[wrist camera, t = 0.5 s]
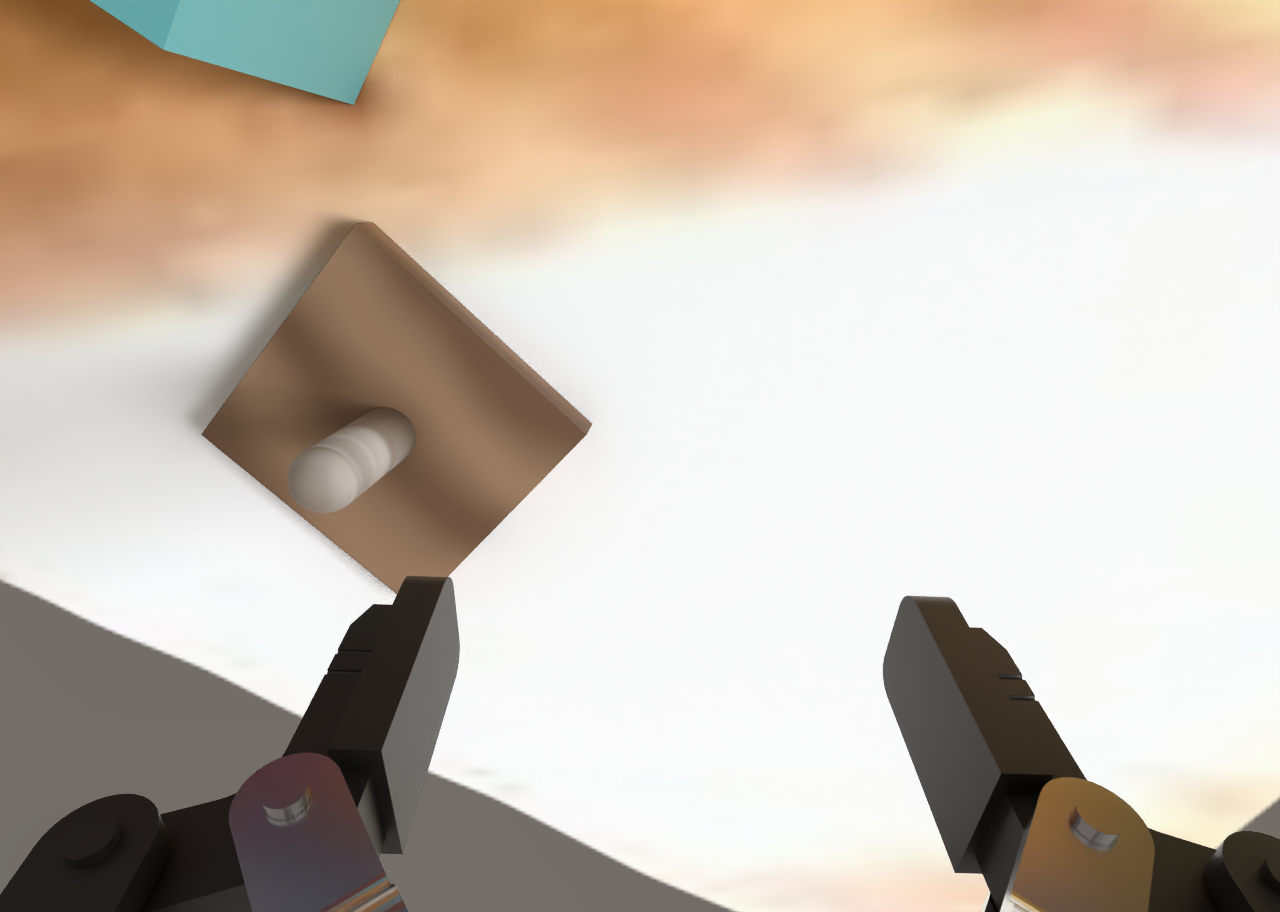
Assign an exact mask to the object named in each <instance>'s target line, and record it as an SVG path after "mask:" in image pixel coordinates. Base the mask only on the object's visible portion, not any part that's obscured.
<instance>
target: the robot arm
mask: <svg viewBox="0 0 1280 912" xmlns="http://www.w3.org/2000/svg"><path fill="white" fill-rule="evenodd" d="M459 651H460V642H459V632H458V623H457V614H456V605H455V596H454V587H453V582H452V579H451V578H450V577H429V576H407V577H406V578H405V579H404V581H403V583H402V585H401V587H400V589H399V592H398V594H397V596H396V598H395V600H394V603H393V605H381V604H373V605H372V606H371V607H370V608H369V609H368V610H366V611H365V612H364V613H363V614H362V615H361V616H360V617H359V618H358V619H356V620H355V621H354V622H353V623H352V624H351V625H350V627H349V629H348V631H347V633H346V635H345V637H344V638H343V640H342V642H341V644H340V646H339V648H338V654H335V656H334V658H333V660H332V662H331V664H330V666H329V668H328V673H327V675H324V677H323V679H322V681H321V683H320V685H319V687H318V689H317V691H316V693H315V695H314V697H313V699H312V701H311V703H310V705H309V707H308V709H307V711H306V712H305V714H304V716H303V718H302V720H301V722H300V724H299V726H298V728H297V730H296V732H295V734H294V736H293V738H292V740H291V742H290V744H289V746H288V748H287V750H286V751H285V753H284V754H283V756H282V757H281V758H279V759H276V760H274V761H272V762H270V763H269V764H267V765H265V766H263V767H262V768H261V769H259V770H258V771H256V772H255V773H254V774H253V775H252V776H250V777H249V778H248V779H247V780H246V781H245V783H244V784H243V785H242V786H241V787H240V789H239V790H238V792H237V793H236V794H233V795H231V796H228V797H226V798H222V799H219V800H216V801H212V802H208V803H204V804H200V805H196V806H193V807H188V808H184V809H180V810H176V811H172V812H168V813H164V814H159V812H158V810H157V808H156V807H155V805H154V804H153V803H152V802H151V801H150V800H149V799H147V798H145V797H143V796H139V795H136V794H119V795H113V796H108V797H104V798H101V799H98V800H95V801H93V802H90V803H88V804H86V805H84V806H82V807H80V808H78V809H77V810H75V811H73V812H71V813H70V814H68V815H67V816H66V817H64V818H63V819H61V820H60V821H59V822H57V823H56V824H55V825H54V826H53V827H52V828H50V830H48V832H46V833H45V834H44V835H43V836H42V837H41V839H40V840H39V841H38V843H37V844H36V845H35V846H34V848H33V849H32V851H31V852H30V853H29V855H28V856H27V858H26V859H25V861H24V862H23V863H22V865H21V866H20V867H19V869H18V871H17V872H16V874H15V875H14V876H13V877H12V879H11V880H10V882H9V883H8V885H7V886H6V887H5V889H4V890H3V892H2V893H1V895H0V912H408V910H407V908H406V906H405V904H404V901H403V899H402V897H401V895H400V893H399V891H398V889H397V888H396V886H395V885H394V884H392V885H391V884H390V882H389V880H388V878H387V876H386V874H385V871H384V869H383V867H382V864H381V862H380V860H379V856H380V853H386V854H388V853H389V854H403V851H404V848H405V844H406V841H407V838H408V834H409V831H410V827H411V824H412V821H413V818H414V815H415V811H416V808H417V805H418V801H419V798H420V794H421V791H422V788H423V784H424V781H425V778H426V775H427V771H428V768H429V765H430V761H431V758H432V755H433V751H434V748H435V745H436V741H437V738H438V735H439V731H440V728H441V725H442V721H443V718H444V715H445V711H446V708H447V705H448V701H449V698H450V695H451V691H452V688H453V685H454V681H455V678H456V674H457V669H458V663H459ZM883 679H884V686H885V690H886V694H887V696H888V699H889V702H890V704H891V707H892V709H893V712H894V715H895V717H896V720H897V723H898V725H899V728H900V730H901V733H902V736H903V738H904V741H905V743H906V746H907V749H908V751H909V754H910V756H911V759H912V762H913V764H914V767H915V769H916V772H917V775H918V777H919V780H920V782H921V785H922V788H923V790H924V793H925V796H926V798H927V801H928V803H929V806H930V809H931V811H932V814H933V816H934V819H935V822H936V824H937V827H938V829H939V832H940V835H941V837H942V840H943V842H944V845H945V848H946V850H947V853H948V856H949V858H950V861H951V863H952V866H953V869H954V871H955V873H979V874H983V876H984V878H985V881H986V883H987V886H988V888H989V890H990V891H989V893H988V895H987V897H986V899H985V901H984V904H983V907H982V910H981V912H1280V839H1277V838H1275V837H1272V836H1269V835H1266V834H1263V833H1258V832H1252V831H1241V832H1236V833H1233V834H1231V835H1229V836H1228V837H1227V838H1226V839H1225V840H1224V842H1223V843H1222V844H1221V846H1220V847H1219V848H1218V850H1215V849H1212V848H1208V847H1205V846H1202V845H1199V844H1196V843H1192V842H1189V841H1186V840H1183V839H1180V838H1176V837H1173V836H1170V835H1167V834H1163V833H1160V832H1157V831H1155V830H1152V829H1149V828H1147V826H1146V824H1145V823H1144V821H1143V820H1142V819H1141V817H1140V816H1139V815H1138V814H1137V813H1136V812H1135V811H1134V809H1133V808H1132V807H1131V806H1130V805H1128V804H1127V803H1126V802H1125V801H1124V800H1122V799H1121V798H1120V797H1118V796H1117V795H1115V794H1114V793H1113V792H1111V791H1109V790H1107V789H1106V788H1104V787H1102V786H1100V785H1098V784H1095V783H1093V782H1090V781H1087V780H1086V778H1085V777H1084V775H1083V773H1082V772H1081V770H1080V768H1079V767H1078V765H1077V764H1076V762H1075V760H1074V759H1073V757H1072V755H1071V754H1070V752H1069V751H1068V749H1067V747H1066V746H1065V744H1064V742H1063V741H1062V739H1061V738H1060V736H1059V734H1058V733H1057V731H1056V729H1055V728H1054V726H1053V725H1052V723H1051V721H1050V720H1049V718H1048V716H1047V715H1046V713H1045V711H1044V710H1043V708H1042V707H1041V705H1040V703H1039V702H1038V701H1035V695H1034V694H1033V692H1032V690H1031V689H1030V687H1029V685H1028V684H1027V682H1026V681H1025V680H1022V674H1021V672H1020V671H1019V669H1018V668H1017V666H1016V664H1015V663H1014V661H1013V659H1012V658H1011V656H1010V655H1009V653H1008V651H1007V650H1006V649H1005V648H1004V647H1003V646H1002V645H1000V644H999V643H998V642H997V641H996V640H995V639H994V638H993V637H991V636H990V635H989V634H988V633H987V632H986V631H985V630H983V629H982V628H969V626H968V624H967V622H966V621H965V619H964V617H963V615H962V614H961V612H960V610H959V608H958V607H957V605H956V603H955V602H954V601H953V600H952V599H951V598H948V597H927V596H906V597H904V598H903V599H902V601H901V604H900V606H899V610H898V613H897V616H896V620H895V623H894V627H893V630H892V633H891V637H890V640H889V643H888V647H887V650H886V653H885V657H884V663H883Z"/></svg>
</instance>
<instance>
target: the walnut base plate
mask: <svg viewBox="0 0 1280 912" xmlns="http://www.w3.org/2000/svg"><path fill="white" fill-rule="evenodd" d="M591 425H592V423H591V422H590V421H588V420H587V419H586V418H585V417H584V416H583V415H582V414H581V413H580V412H579V411H578V410H577V409H575V408H574V407H573V406H572V405H571V404H570V403H569V402H568V401H567V400H566V399H565V398H563V397H562V396H561V395H560V394H559V393H558V392H557V391H556V390H555V389H554V388H553V387H551V386H550V385H549V384H548V383H547V382H546V381H545V380H544V379H543V378H542V377H541V376H540V375H538V374H537V373H536V372H535V371H534V370H533V369H532V368H531V367H530V366H529V365H528V364H526V363H525V362H524V361H523V360H522V359H521V358H520V357H519V356H518V355H517V354H516V353H515V352H513V351H512V350H511V349H510V348H509V347H508V346H507V345H506V344H505V343H504V342H503V341H501V340H500V339H499V338H498V337H497V336H496V335H495V334H494V333H493V332H492V331H491V330H489V329H488V328H487V327H486V326H485V325H484V324H483V323H482V322H481V321H480V320H479V319H478V318H476V317H475V316H474V315H473V314H472V313H471V312H470V311H469V310H468V309H467V308H466V307H464V306H463V305H462V304H461V303H460V302H459V301H458V300H457V299H456V298H455V297H454V296H453V295H451V294H450V293H449V292H448V291H447V290H446V289H445V288H444V287H443V286H442V285H441V284H439V283H438V282H437V281H436V280H435V279H434V278H433V277H432V276H431V275H430V274H429V273H428V272H426V271H425V270H424V269H423V268H422V267H421V266H420V265H419V264H418V263H417V262H416V261H414V260H413V259H412V258H411V257H410V256H409V255H408V254H407V253H406V252H405V251H404V250H402V249H401V248H400V247H399V246H398V245H397V244H396V243H395V242H394V241H393V240H392V239H391V238H389V237H388V236H387V235H386V234H385V233H384V232H383V231H382V230H381V229H380V228H379V227H377V226H376V225H375V224H374V223H356V224H355V225H354V227H353V228H352V229H351V231H350V232H349V234H348V235H347V236H346V238H345V239H344V240H343V242H342V243H341V244H340V246H339V247H338V249H337V250H336V251H335V253H334V254H333V255H332V257H331V258H330V259H329V261H328V262H327V264H326V265H325V266H324V268H323V269H322V270H321V272H320V273H319V275H318V276H317V277H316V279H315V280H314V281H313V283H312V284H311V285H310V287H309V288H308V290H307V291H306V292H305V294H304V295H303V296H302V298H301V299H300V300H299V302H298V303H297V305H296V306H295V307H294V309H293V310H292V311H291V313H290V314H289V315H288V317H287V318H286V320H285V321H284V322H283V324H282V325H281V326H280V328H279V329H278V331H277V332H276V333H275V335H274V336H273V337H272V339H271V340H270V341H269V343H268V344H267V346H266V347H265V348H264V350H263V351H262V352H261V354H260V355H259V356H258V358H257V359H256V361H255V362H254V363H253V365H252V366H251V367H250V369H249V370H248V372H247V373H246V374H245V376H244V377H243V378H242V380H241V381H240V382H239V384H238V385H237V387H236V388H235V389H234V391H233V392H232V393H231V395H230V396H229V397H228V399H227V400H226V402H225V403H224V404H223V406H222V407H221V408H220V410H219V411H218V413H217V414H216V415H215V417H214V418H213V419H212V421H211V422H210V423H209V425H208V426H207V428H206V429H205V430H204V432H203V433H202V434H201V435H202V436H204V437H205V438H206V439H207V440H209V441H210V442H211V443H212V444H213V445H215V446H216V447H217V448H218V449H220V450H221V451H222V452H223V453H224V454H226V455H227V456H228V457H229V458H231V459H232V460H233V461H234V462H235V463H237V464H238V465H239V466H240V467H242V468H243V469H244V470H245V471H247V472H248V473H249V474H250V475H251V476H253V477H254V478H255V479H256V480H258V481H259V482H260V483H261V484H262V485H264V486H265V487H266V488H267V489H269V490H270V491H271V492H272V493H274V494H275V495H276V496H277V497H278V498H280V499H281V500H282V501H283V502H285V503H286V504H287V505H288V506H289V507H291V508H292V509H293V510H294V511H296V512H297V513H298V514H299V515H300V516H302V517H303V518H304V519H305V520H307V521H308V522H309V523H310V524H312V525H313V526H314V527H315V528H316V529H318V530H319V531H320V532H321V533H323V534H324V535H325V536H326V537H327V538H329V539H330V540H331V541H332V542H334V543H335V544H336V545H337V546H339V547H340V548H341V549H342V550H343V551H345V552H346V553H347V554H348V555H350V556H351V557H352V558H353V559H354V560H356V561H357V562H358V563H359V564H361V565H362V566H363V567H364V568H365V569H367V570H368V571H369V572H370V573H372V574H373V575H374V576H375V577H377V578H378V579H379V580H380V581H381V582H383V583H384V584H385V585H386V586H388V587H389V588H390V589H391V590H392V591H394V592H395V593H396V594H398V592H399V589H400V587H401V585H402V583H403V581H404V579H405V578H406V577H407V576H429V577H448V576H449V575H450V574H451V573H452V572H453V571H454V570H455V569H456V568H457V567H458V566H459V564H460V563H461V562H462V561H463V560H464V559H465V558H466V557H467V556H468V555H469V554H470V553H471V552H472V551H473V550H474V549H475V548H476V547H477V546H478V545H479V544H480V543H481V542H482V541H483V540H484V539H485V538H486V537H487V536H488V535H489V534H490V533H491V532H492V531H493V530H494V529H495V528H496V527H497V526H498V525H499V524H500V523H501V522H502V521H503V519H504V518H505V517H506V516H507V515H508V514H509V513H510V512H511V511H512V510H513V509H514V508H515V507H516V506H517V505H518V504H519V503H520V502H521V501H522V500H523V499H524V498H525V497H526V496H527V495H528V494H529V493H530V492H531V491H532V490H533V489H534V488H535V487H536V486H537V485H538V484H539V483H540V482H541V481H542V480H543V479H544V478H545V477H546V475H547V474H548V473H549V472H550V471H551V470H552V469H553V468H554V467H555V466H556V465H557V464H558V463H559V462H560V461H561V460H562V459H563V458H564V457H565V456H566V455H567V454H568V453H569V452H570V451H571V450H572V449H573V448H574V447H575V446H576V445H577V444H578V443H579V442H580V441H581V440H582V439H583V438H584V437H585V436H586V435H587V433H588V431H589V429H590V427H591Z"/></svg>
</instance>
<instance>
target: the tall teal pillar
mask: <svg viewBox="0 0 1280 912" xmlns="http://www.w3.org/2000/svg"><path fill="white" fill-rule="evenodd" d="M90 1H91V2H93V3H94V4H96V5H97V6H99V7H100V8H102V9H103V10H105V11H106V12H108V13H109V14H111V15H112V16H114V17H115V18H117V19H118V20H120V21H121V22H123V23H124V24H126V25H127V26H129V27H130V28H132V29H133V30H135V31H136V32H138V33H139V34H141V35H142V36H144V37H145V38H147V39H148V40H150V41H151V42H153V43H154V44H156V45H157V46H159V47H160V48H162V49H163V50H166V51H170V52H173V53H177V54H180V55H184V56H187V57H191V58H194V59H197V60H201V61H204V62H208V63H211V64H215V65H218V66H222V67H225V68H228V69H232V70H235V71H239V72H242V73H246V74H249V75H253V76H256V77H259V78H263V79H266V80H270V81H273V82H277V83H280V84H284V85H287V86H290V87H294V88H297V89H301V90H304V91H308V92H311V93H315V94H318V95H321V96H325V97H328V98H332V99H335V100H339V101H342V102H346V103H349V104H352V105H354V103H355V101H356V99H357V97H358V94H359V92H360V90H361V87H362V85H363V83H364V81H365V78H366V76H367V74H368V72H369V69H370V67H371V65H372V63H373V60H374V58H375V56H376V54H377V51H378V49H379V47H380V45H381V42H382V40H383V38H384V35H385V33H386V31H387V29H388V26H389V24H390V22H391V20H392V17H393V15H394V13H395V11H396V8H397V6H398V4H399V2H400V0H90Z"/></svg>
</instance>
